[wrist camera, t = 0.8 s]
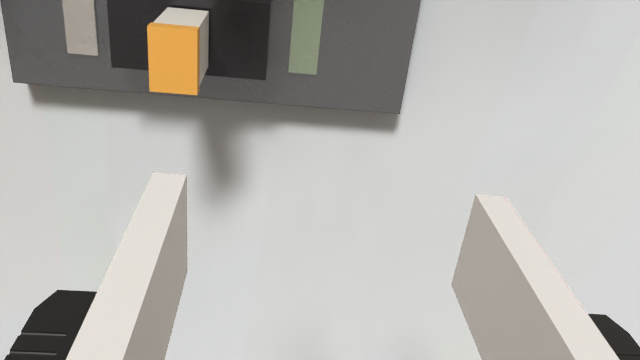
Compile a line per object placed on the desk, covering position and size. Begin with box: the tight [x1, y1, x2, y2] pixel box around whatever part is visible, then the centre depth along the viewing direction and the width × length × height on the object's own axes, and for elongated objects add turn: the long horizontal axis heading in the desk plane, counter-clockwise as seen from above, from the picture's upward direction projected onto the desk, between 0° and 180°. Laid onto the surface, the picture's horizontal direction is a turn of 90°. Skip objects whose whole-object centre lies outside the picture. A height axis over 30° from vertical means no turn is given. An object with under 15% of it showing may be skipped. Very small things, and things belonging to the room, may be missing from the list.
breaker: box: [147, 7, 209, 95], centre depth 26 cm, size 2×3×4 cm
